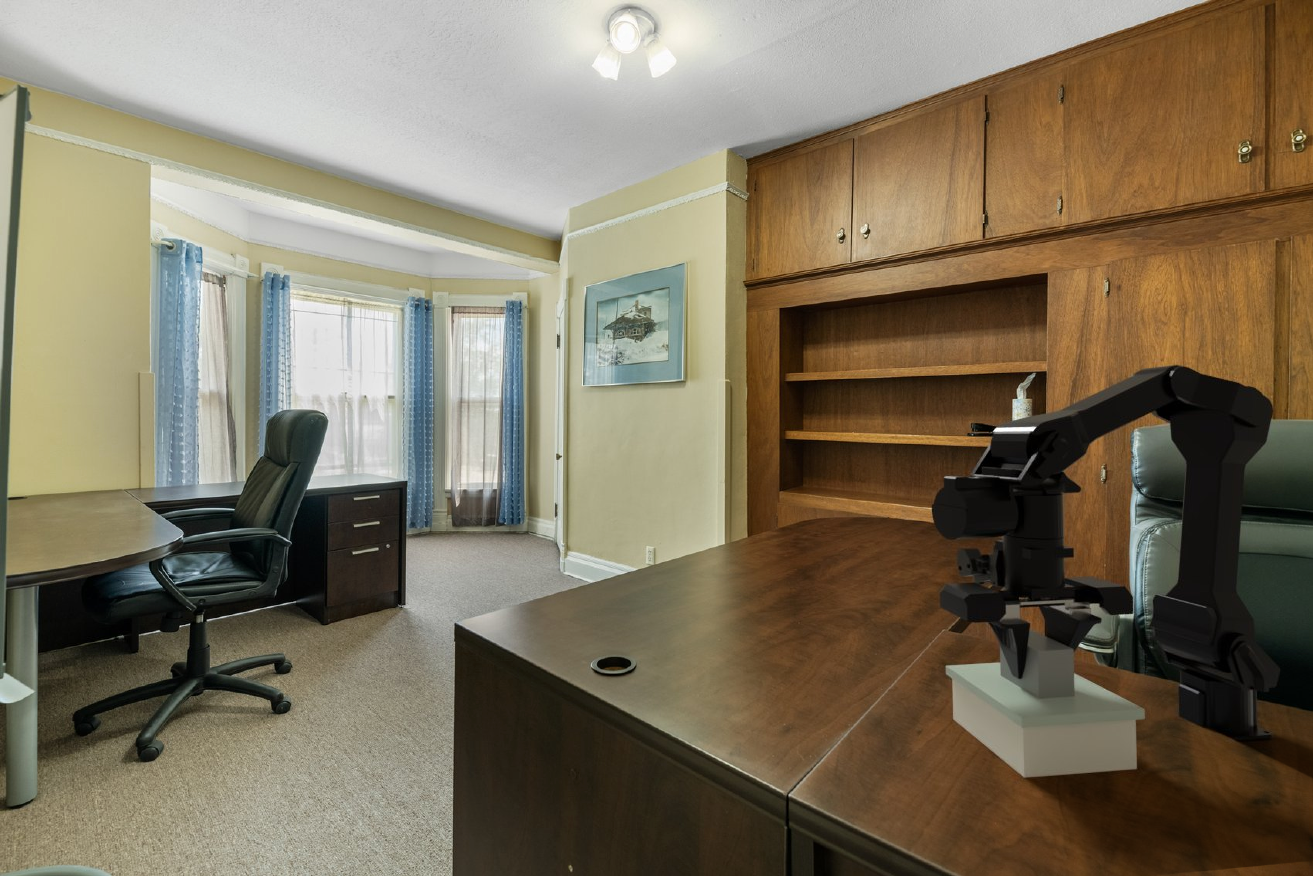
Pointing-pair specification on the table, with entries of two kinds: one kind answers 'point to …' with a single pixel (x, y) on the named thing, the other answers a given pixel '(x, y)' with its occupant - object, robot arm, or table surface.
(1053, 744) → the box
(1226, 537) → the robot arm
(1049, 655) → the lid
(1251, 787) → the table surface
